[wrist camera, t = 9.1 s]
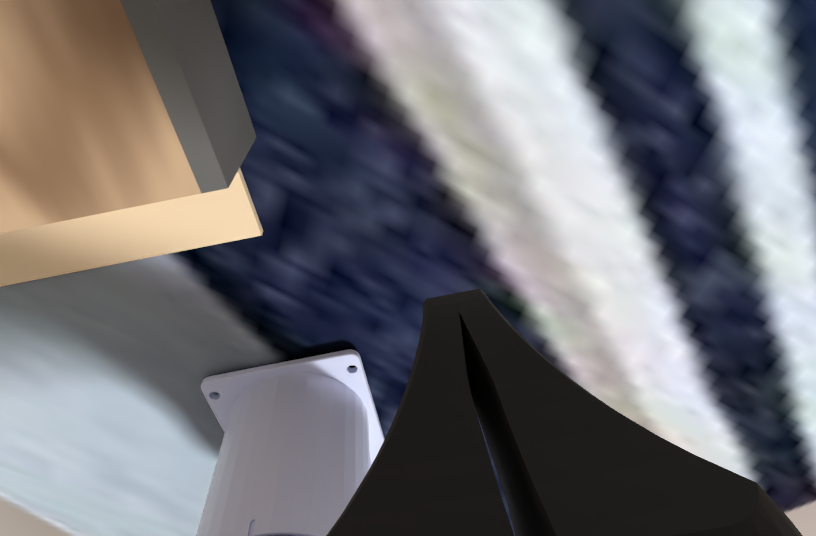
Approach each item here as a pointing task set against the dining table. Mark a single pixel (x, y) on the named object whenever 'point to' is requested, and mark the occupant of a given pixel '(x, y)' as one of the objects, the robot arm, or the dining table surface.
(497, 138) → the dining table surface
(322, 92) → the dining table surface
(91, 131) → the small brown box
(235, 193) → the cork mat
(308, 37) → the dining table surface
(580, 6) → the dining table surface
